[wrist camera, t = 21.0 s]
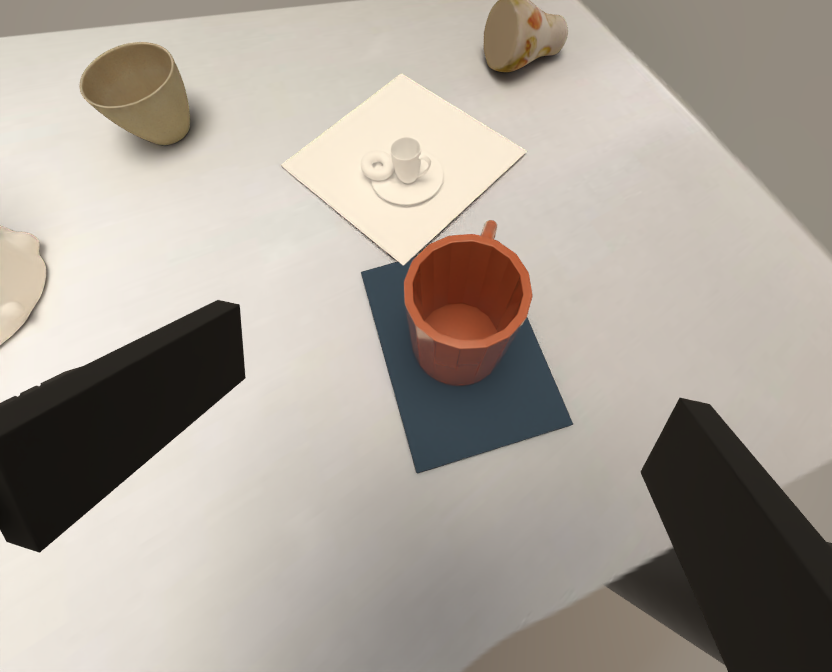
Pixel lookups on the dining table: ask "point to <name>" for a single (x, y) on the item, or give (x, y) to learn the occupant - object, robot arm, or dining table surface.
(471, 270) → the tall mug
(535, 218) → the dining table surface
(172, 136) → the flower pot
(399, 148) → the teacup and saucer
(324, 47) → the dining table surface
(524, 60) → the floral patterned cup
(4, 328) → the vase
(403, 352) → the mat
